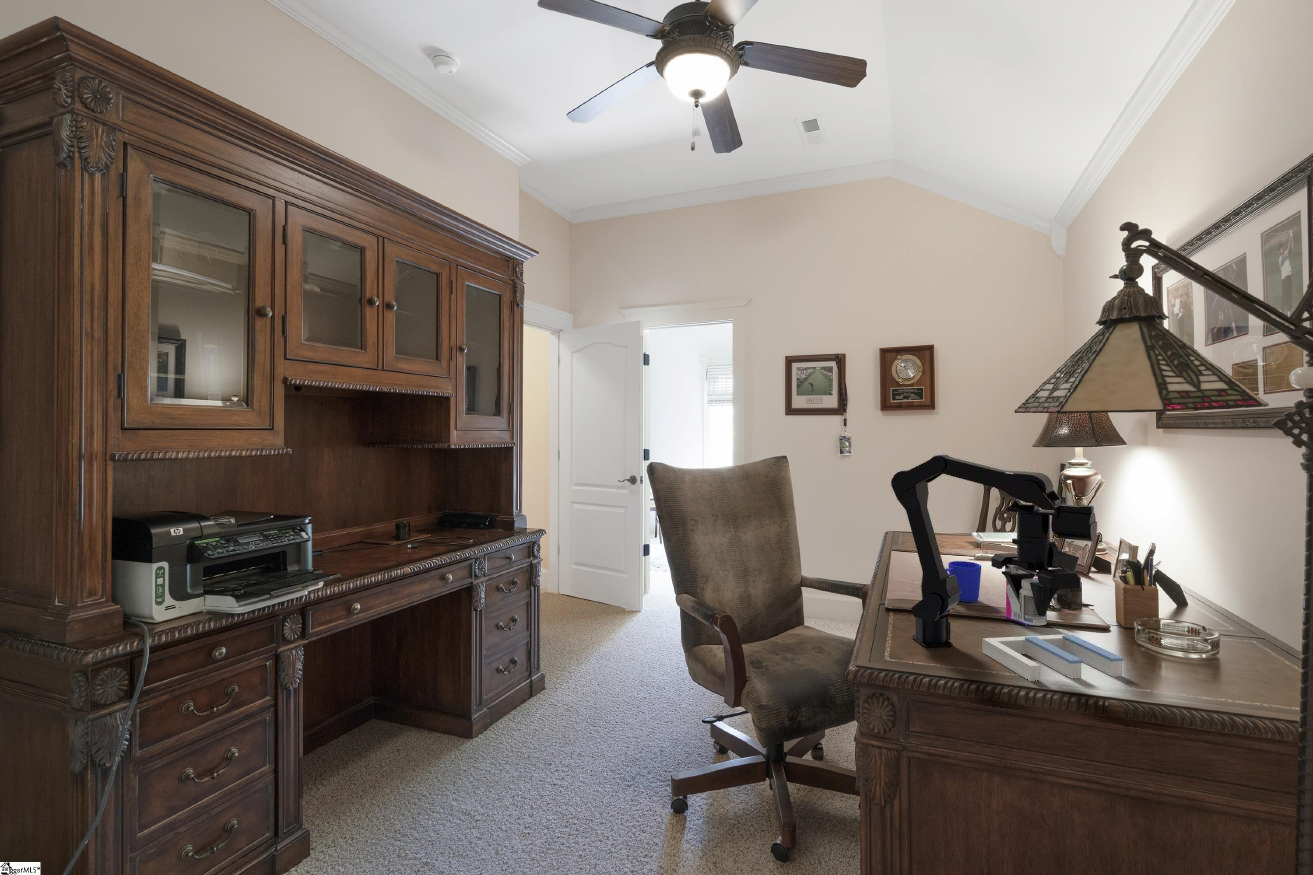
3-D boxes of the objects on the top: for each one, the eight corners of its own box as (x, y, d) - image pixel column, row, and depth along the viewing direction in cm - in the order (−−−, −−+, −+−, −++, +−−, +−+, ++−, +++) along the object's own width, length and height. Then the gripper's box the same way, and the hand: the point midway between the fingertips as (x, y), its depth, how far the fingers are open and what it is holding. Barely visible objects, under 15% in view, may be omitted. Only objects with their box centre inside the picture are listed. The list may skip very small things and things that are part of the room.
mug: (930, 598, 173) (930, 563, 173) (965, 594, 177) (965, 559, 176) (952, 607, 165) (952, 570, 165) (988, 602, 169) (988, 566, 169)
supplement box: (1043, 622, 152) (1043, 576, 152) (1026, 626, 150) (1026, 579, 149) (1021, 615, 157) (1021, 571, 157) (1004, 619, 155) (1004, 573, 155)
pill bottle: (1052, 624, 124) (1052, 583, 123) (1032, 626, 123) (1032, 584, 122) (1033, 617, 128) (1033, 577, 128) (1013, 619, 127) (1014, 578, 127)
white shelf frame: (1030, 681, 119) (1030, 662, 119) (982, 652, 134) (982, 635, 134) (1123, 676, 120) (1123, 657, 120) (1065, 647, 135) (1065, 631, 135)
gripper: (1108, 543, 116) (1107, 625, 117) (1038, 526, 135) (1038, 597, 135) (1052, 545, 115) (1052, 628, 116) (989, 527, 134) (989, 599, 134)
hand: (1032, 611), depth 125 cm, fingers closed on pill bottle, 5 cm apart
